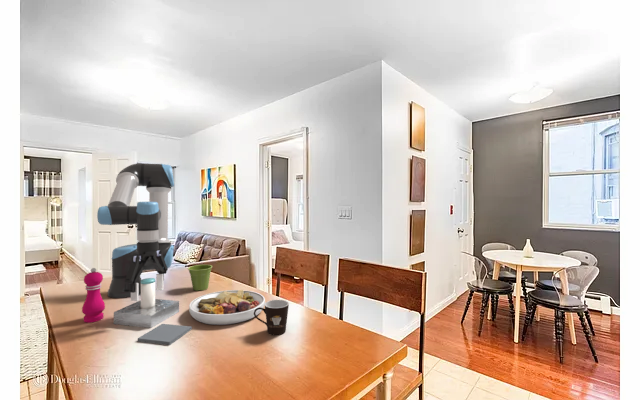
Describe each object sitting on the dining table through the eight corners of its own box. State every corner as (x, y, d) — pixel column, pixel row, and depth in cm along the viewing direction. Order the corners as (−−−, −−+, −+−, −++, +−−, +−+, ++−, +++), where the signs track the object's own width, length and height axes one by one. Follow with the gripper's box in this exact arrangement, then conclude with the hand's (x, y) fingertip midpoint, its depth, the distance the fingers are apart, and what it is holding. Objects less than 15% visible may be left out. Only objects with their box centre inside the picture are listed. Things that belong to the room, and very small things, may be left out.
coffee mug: (292, 328, 115) (292, 301, 115) (282, 338, 107) (282, 309, 107) (264, 323, 119) (264, 297, 119) (252, 333, 111) (252, 305, 110)
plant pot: (195, 285, 168) (195, 264, 168) (216, 286, 166) (216, 265, 166) (182, 291, 156) (183, 269, 156) (205, 293, 154) (205, 270, 154)
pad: (162, 326, 116) (162, 323, 116) (191, 329, 113) (191, 326, 113) (137, 341, 104) (137, 338, 104) (169, 344, 102) (169, 341, 102)
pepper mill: (93, 324, 117) (92, 270, 117) (77, 322, 119) (76, 269, 118) (109, 316, 124) (109, 266, 124) (94, 315, 126) (94, 265, 125)
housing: (145, 308, 133) (145, 298, 133) (179, 311, 130) (179, 300, 130) (113, 324, 117) (113, 312, 117) (151, 327, 114) (151, 315, 114)
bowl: (176, 313, 129) (176, 294, 129) (239, 296, 151) (239, 280, 151) (212, 336, 109) (212, 313, 109) (279, 312, 131) (279, 293, 131)
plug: (147, 314, 127) (147, 277, 126) (158, 315, 126) (158, 278, 125) (137, 319, 122) (137, 281, 121) (149, 320, 121) (148, 281, 120)
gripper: (161, 236, 136) (161, 285, 136) (113, 245, 112) (113, 304, 112) (176, 237, 135) (176, 286, 135) (131, 246, 110) (131, 306, 110)
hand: (147, 294), depth 123 cm, fingers open, 13 cm apart
